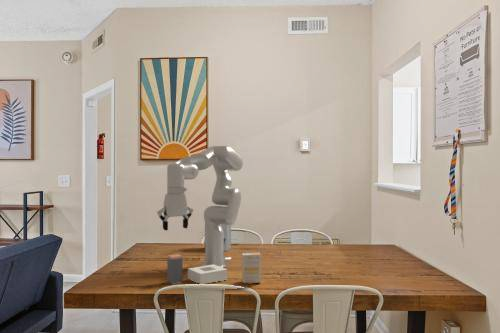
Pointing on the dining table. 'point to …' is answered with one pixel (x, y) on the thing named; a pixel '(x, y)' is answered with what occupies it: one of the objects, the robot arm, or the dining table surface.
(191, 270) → the socket block
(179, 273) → the grey cylinder
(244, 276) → the supplement box
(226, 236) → the hard drive box
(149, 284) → the dining table surface
